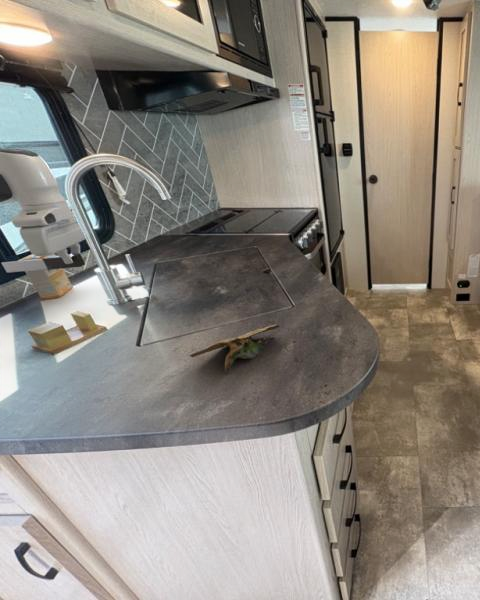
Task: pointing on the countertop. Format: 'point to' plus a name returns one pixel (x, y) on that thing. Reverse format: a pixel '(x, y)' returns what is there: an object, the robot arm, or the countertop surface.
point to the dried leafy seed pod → (239, 347)
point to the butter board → (75, 338)
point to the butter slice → (84, 320)
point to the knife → (42, 264)
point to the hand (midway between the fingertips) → (74, 261)
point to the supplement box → (48, 280)
